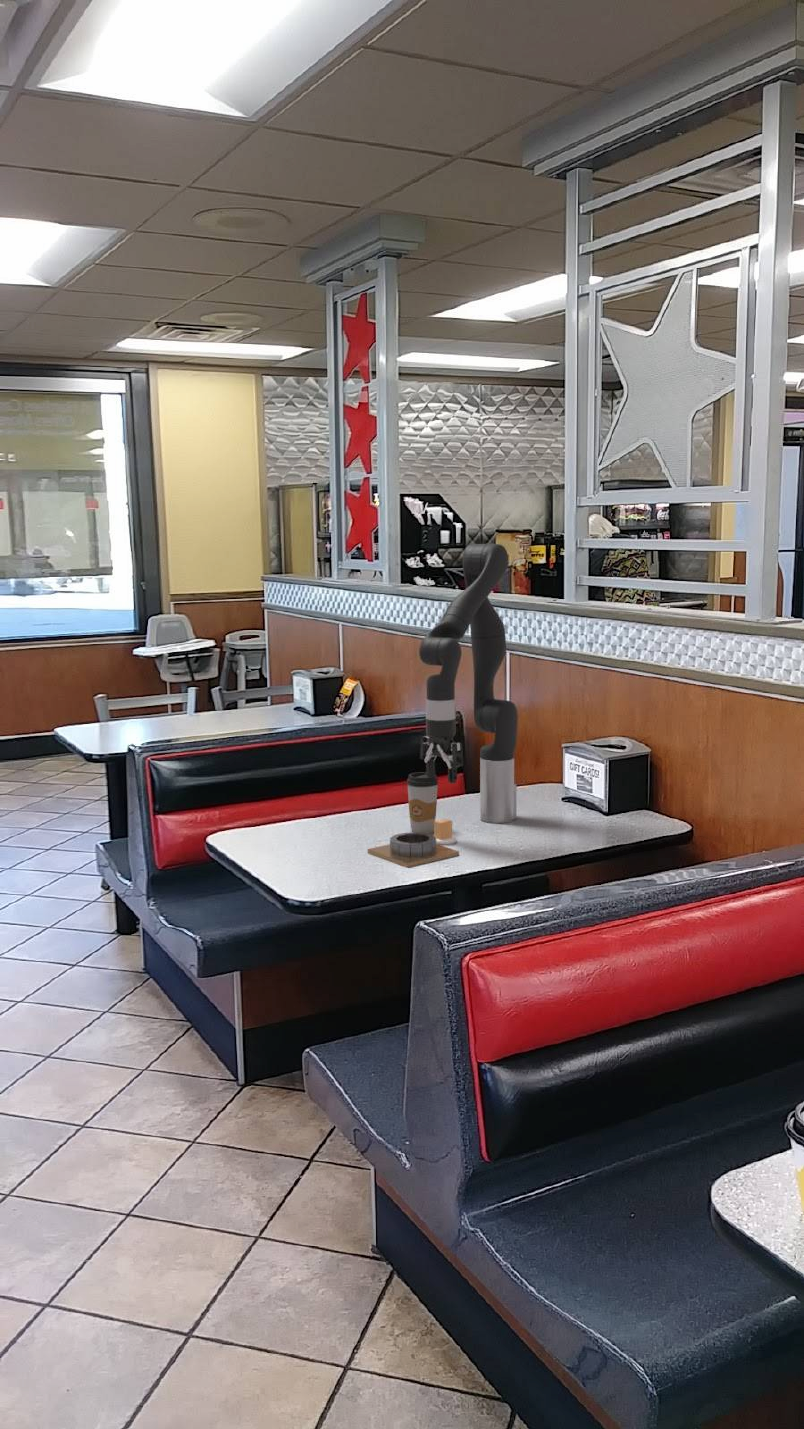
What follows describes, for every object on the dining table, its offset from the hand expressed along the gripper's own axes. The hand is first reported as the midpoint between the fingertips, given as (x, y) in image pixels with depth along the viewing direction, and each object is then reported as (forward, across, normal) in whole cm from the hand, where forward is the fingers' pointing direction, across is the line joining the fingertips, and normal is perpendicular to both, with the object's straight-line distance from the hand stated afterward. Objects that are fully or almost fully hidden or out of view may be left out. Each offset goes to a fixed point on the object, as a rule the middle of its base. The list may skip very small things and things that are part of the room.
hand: (441, 779), depth 283 cm
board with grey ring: (+16, -4, +13) cm, 21 cm away
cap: (+16, 0, 0) cm, 16 cm away
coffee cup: (+16, +12, -3) cm, 20 cm away
